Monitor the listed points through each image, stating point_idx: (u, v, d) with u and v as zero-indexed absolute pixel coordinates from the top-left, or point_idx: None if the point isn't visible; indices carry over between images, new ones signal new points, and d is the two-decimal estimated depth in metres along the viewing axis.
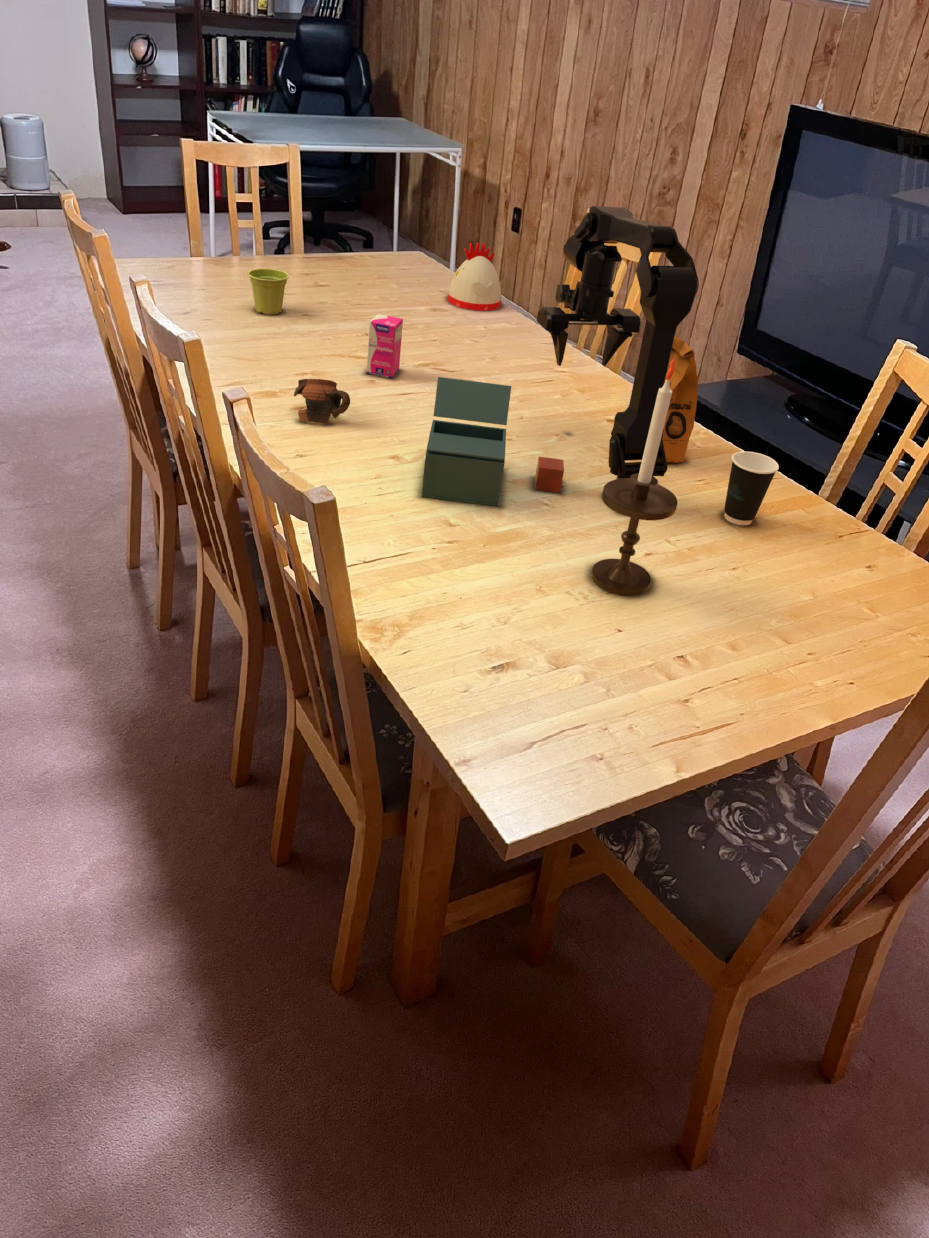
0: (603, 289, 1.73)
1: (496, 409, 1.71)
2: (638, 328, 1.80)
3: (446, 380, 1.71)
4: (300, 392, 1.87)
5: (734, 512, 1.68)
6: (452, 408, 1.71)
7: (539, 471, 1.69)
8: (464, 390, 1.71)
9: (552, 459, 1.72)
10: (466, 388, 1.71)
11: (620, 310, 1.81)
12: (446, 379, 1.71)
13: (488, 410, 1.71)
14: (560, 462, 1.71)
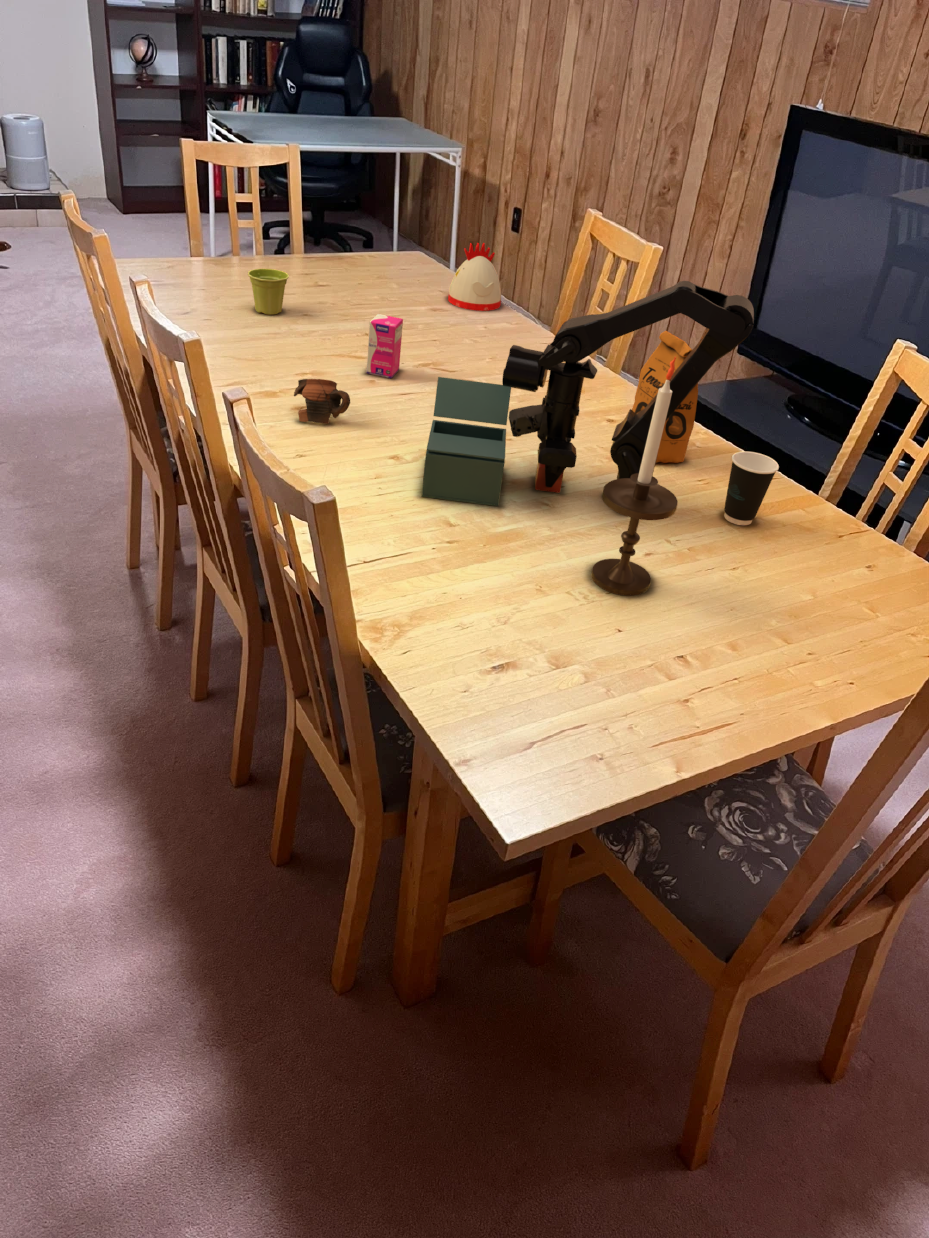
0: None
1: (496, 409, 1.71)
2: None
3: (446, 380, 1.71)
4: (300, 392, 1.87)
5: (734, 512, 1.68)
6: (452, 408, 1.71)
7: (539, 471, 1.69)
8: (464, 390, 1.71)
9: None
10: (466, 388, 1.71)
11: None
12: (446, 379, 1.71)
13: (488, 410, 1.71)
14: None
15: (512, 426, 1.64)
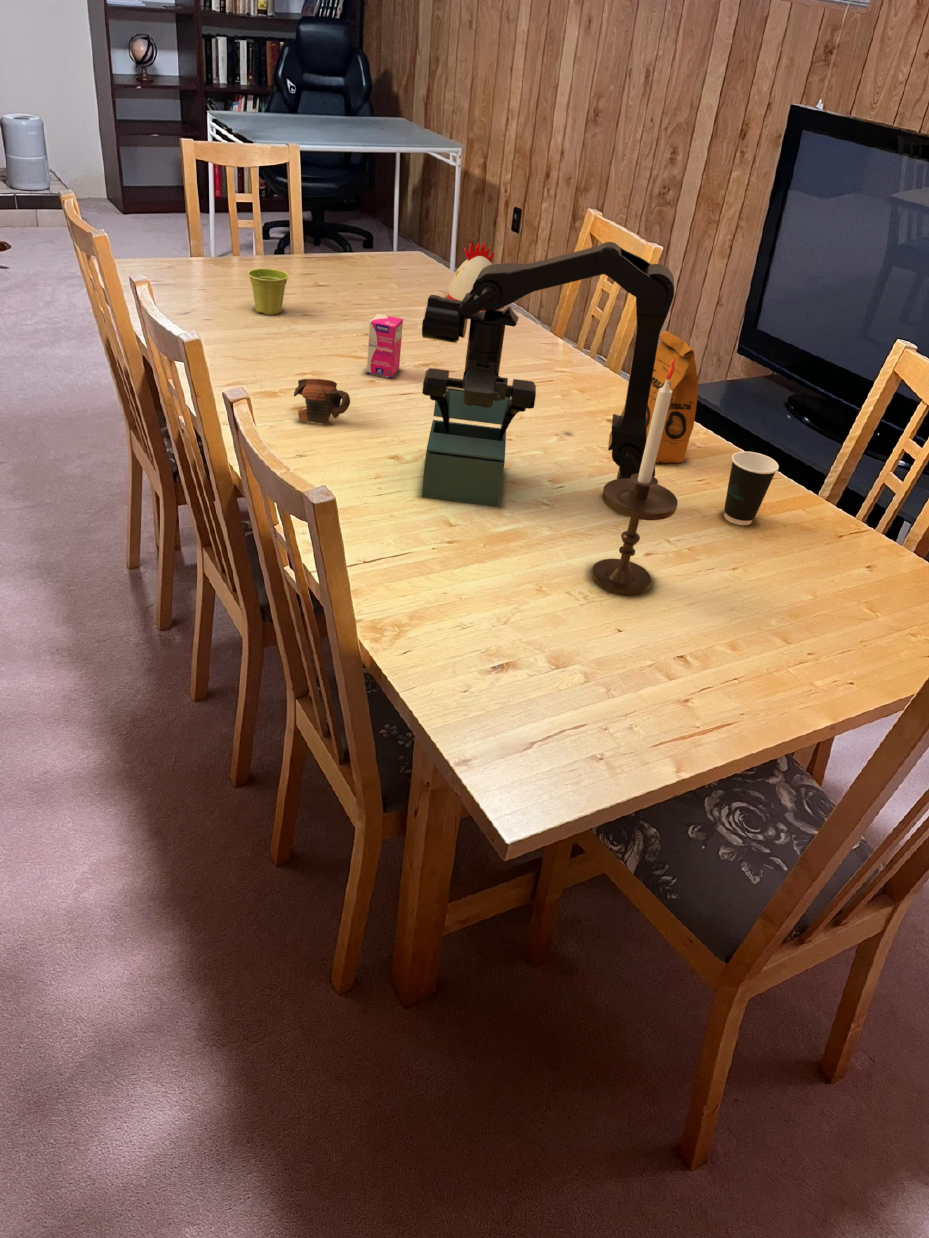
0: None
1: (496, 409, 1.71)
2: None
3: None
4: (300, 392, 1.87)
5: (734, 512, 1.68)
6: (452, 408, 1.71)
7: None
8: None
9: None
10: None
11: (442, 376, 1.62)
12: None
13: (488, 410, 1.71)
14: None
15: (498, 396, 1.56)
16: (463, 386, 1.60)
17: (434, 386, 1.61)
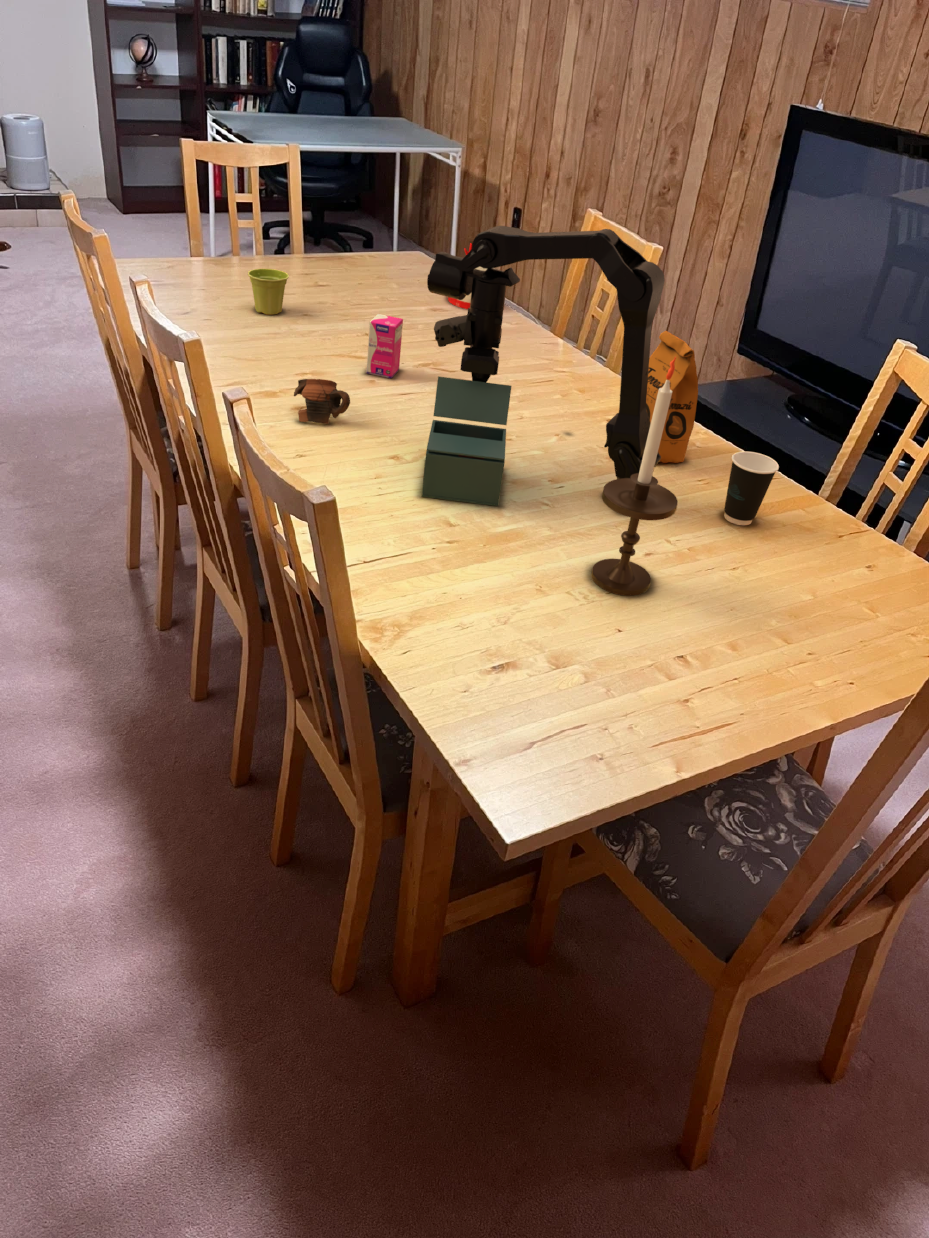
0: None
1: (496, 409, 1.71)
2: None
3: (446, 380, 1.70)
4: (300, 392, 1.87)
5: (734, 512, 1.68)
6: (452, 408, 1.71)
7: None
8: (464, 390, 1.71)
9: None
10: (466, 388, 1.71)
11: None
12: (446, 379, 1.70)
13: (488, 410, 1.71)
14: None
15: (436, 335, 1.65)
16: None
17: None
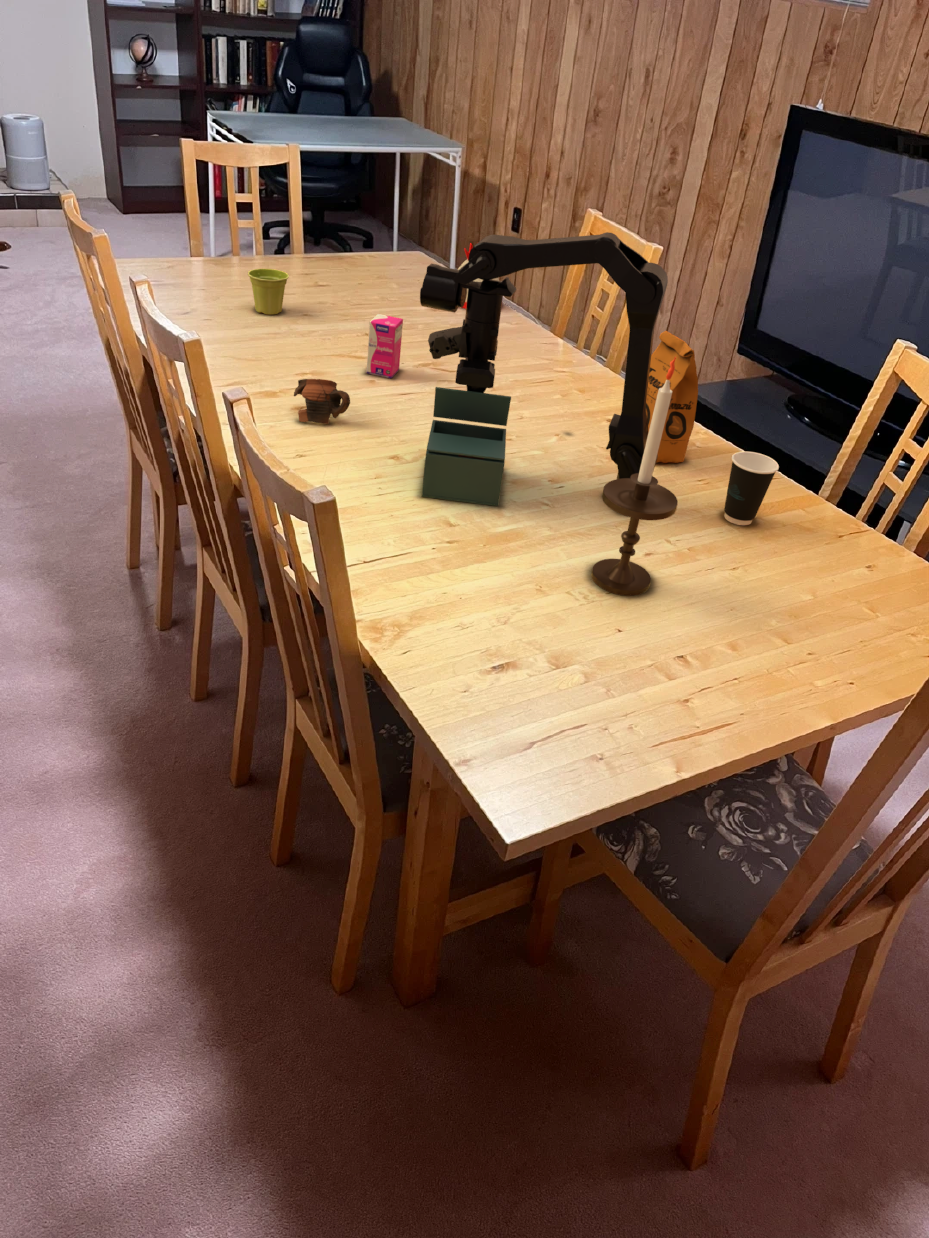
0: None
1: (495, 414, 1.69)
2: None
3: (444, 391, 1.66)
4: (300, 392, 1.87)
5: (734, 512, 1.68)
6: (451, 412, 1.70)
7: None
8: (463, 399, 1.67)
9: None
10: (465, 398, 1.67)
11: None
12: (444, 390, 1.66)
13: (488, 414, 1.69)
14: None
15: (431, 347, 1.61)
16: None
17: None
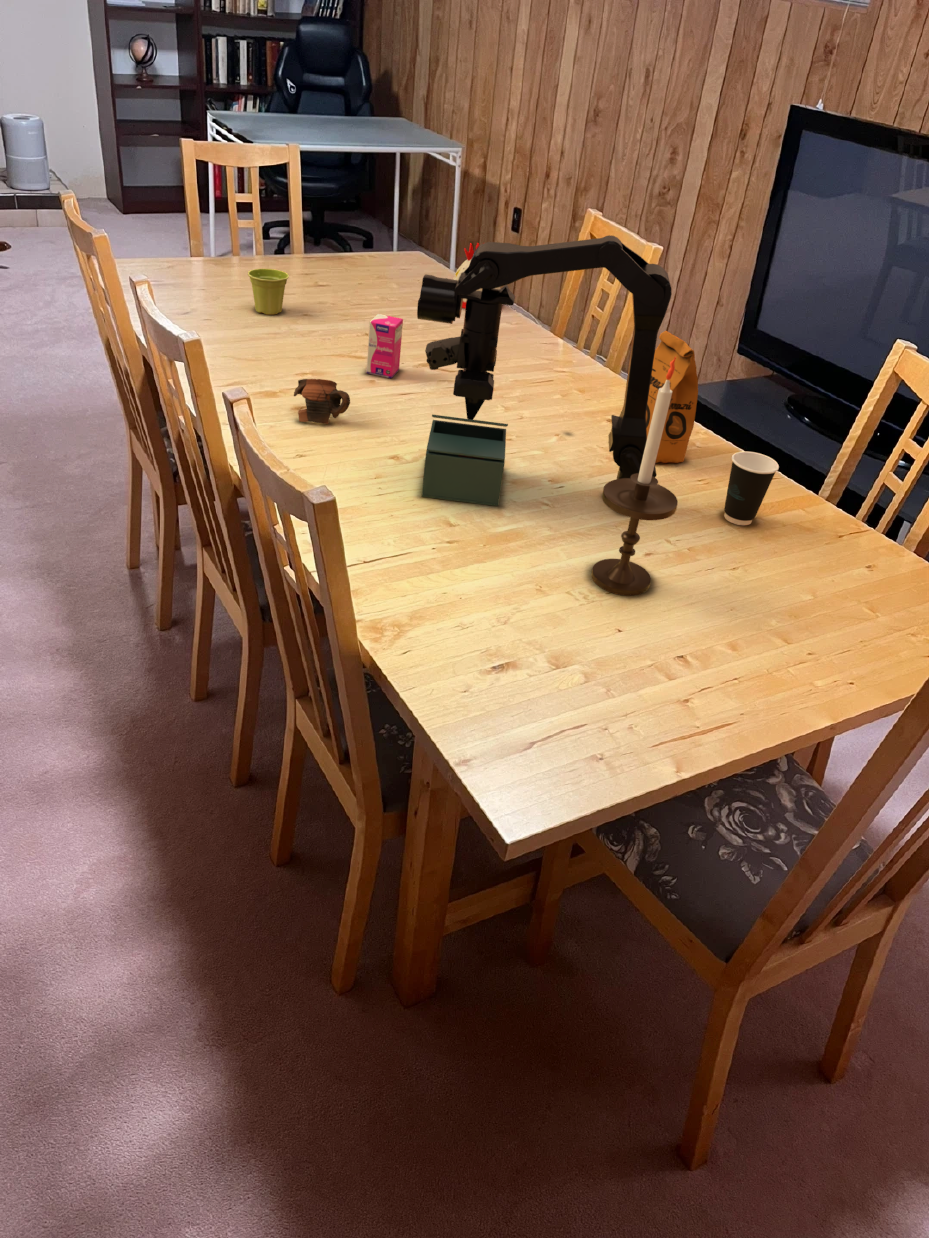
0: (498, 333, 1.57)
1: None
2: None
3: (441, 417, 1.65)
4: (300, 392, 1.87)
5: (734, 512, 1.68)
6: (450, 419, 1.70)
7: None
8: (460, 420, 1.66)
9: None
10: (462, 420, 1.66)
11: None
12: (440, 417, 1.65)
13: None
14: None
15: (428, 358, 1.56)
16: None
17: None
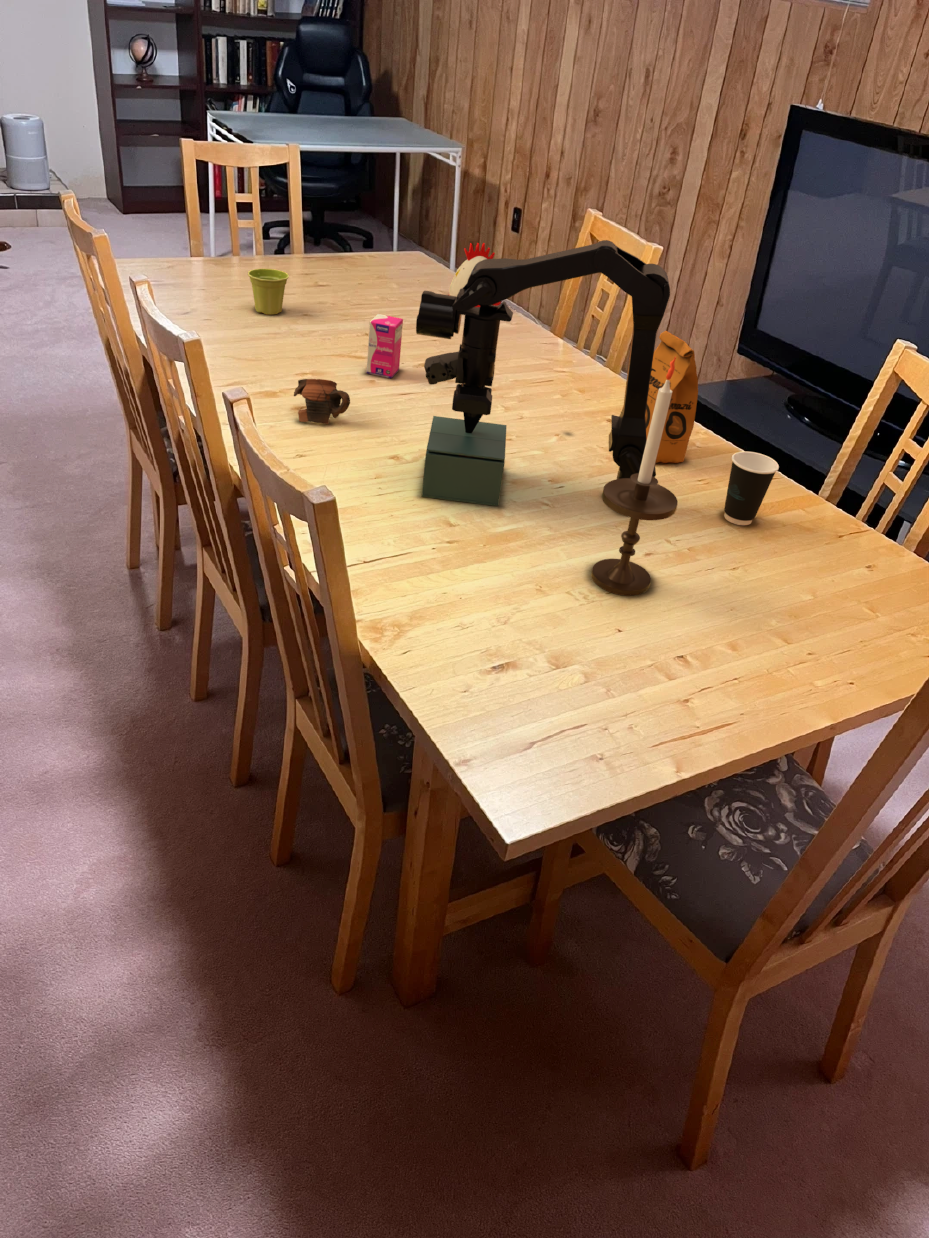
0: (496, 348, 1.59)
1: None
2: None
3: None
4: (300, 392, 1.87)
5: (734, 512, 1.68)
6: None
7: None
8: None
9: None
10: None
11: None
12: None
13: None
14: None
15: (427, 373, 1.58)
16: None
17: None
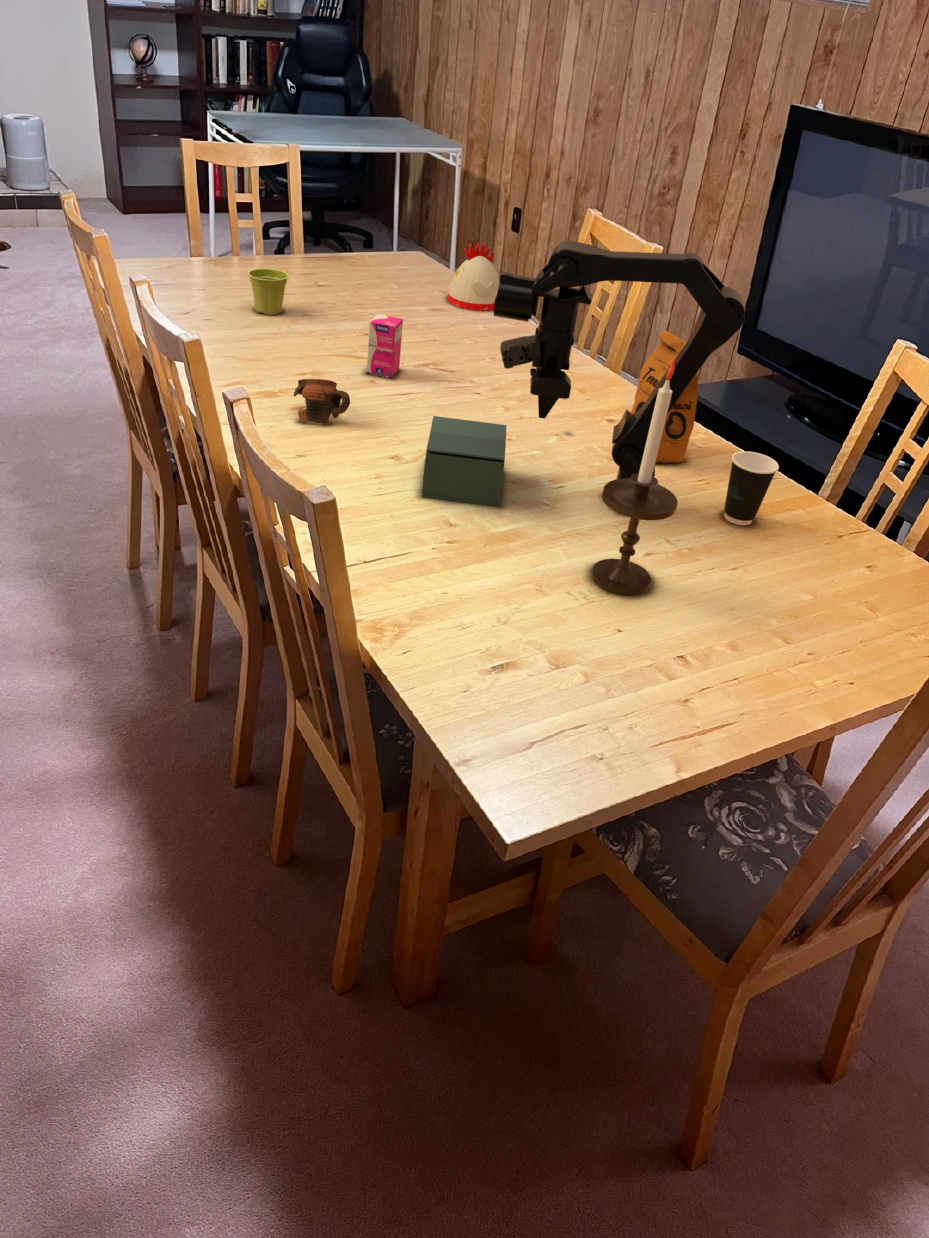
0: None
1: None
2: None
3: None
4: (300, 392, 1.87)
5: (734, 512, 1.68)
6: None
7: None
8: None
9: None
10: None
11: None
12: None
13: None
14: None
15: (503, 356, 1.56)
16: None
17: None
